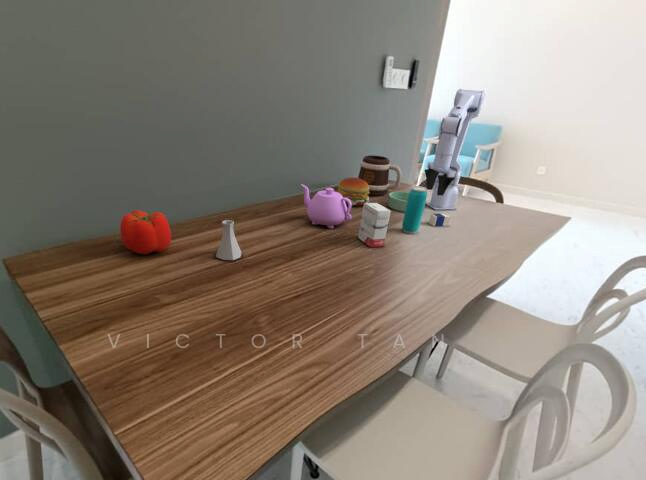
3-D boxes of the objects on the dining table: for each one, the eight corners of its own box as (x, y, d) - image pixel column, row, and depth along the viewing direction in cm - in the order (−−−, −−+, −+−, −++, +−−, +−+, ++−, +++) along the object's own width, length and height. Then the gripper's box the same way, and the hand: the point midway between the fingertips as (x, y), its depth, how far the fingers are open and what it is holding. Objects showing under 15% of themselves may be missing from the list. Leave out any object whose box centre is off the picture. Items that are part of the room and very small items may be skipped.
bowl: (412, 202, 168) (414, 191, 166) (429, 212, 157) (431, 201, 154) (381, 202, 165) (383, 191, 163) (396, 213, 154) (399, 202, 151)
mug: (349, 192, 175) (354, 157, 168) (359, 185, 187) (364, 152, 179) (394, 200, 168) (401, 164, 161) (401, 193, 180) (408, 159, 172)
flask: (245, 253, 113) (245, 220, 108) (234, 263, 108) (234, 228, 102) (223, 248, 115) (222, 215, 110) (211, 258, 109) (209, 223, 104)
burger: (336, 196, 169) (338, 172, 164) (367, 199, 168) (371, 175, 162) (334, 206, 157) (337, 180, 152) (368, 209, 156) (373, 184, 151)
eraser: (442, 222, 147) (445, 213, 145) (448, 226, 144) (450, 216, 142) (428, 223, 146) (430, 213, 144) (433, 226, 143) (436, 216, 141)
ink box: (384, 246, 124) (391, 210, 118) (370, 248, 122) (377, 211, 116) (370, 236, 131) (376, 201, 125) (357, 237, 129) (363, 202, 123)
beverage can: (416, 229, 139) (426, 186, 132) (419, 235, 134) (430, 191, 127) (400, 227, 140) (409, 185, 132) (402, 233, 135) (412, 190, 127)
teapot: (289, 221, 138) (291, 187, 132) (307, 211, 149) (309, 179, 143) (342, 234, 131) (347, 198, 125) (356, 222, 142) (362, 188, 135)
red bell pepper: (112, 254, 108) (106, 217, 103) (143, 237, 119) (139, 203, 113) (154, 263, 104) (150, 226, 99) (182, 246, 115) (179, 211, 110)
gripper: (423, 149, 144) (415, 186, 151) (445, 158, 132) (435, 198, 139) (440, 150, 146) (431, 186, 153) (463, 158, 134) (452, 197, 141)
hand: (434, 192), depth 146 cm, fingers open, 7 cm apart
